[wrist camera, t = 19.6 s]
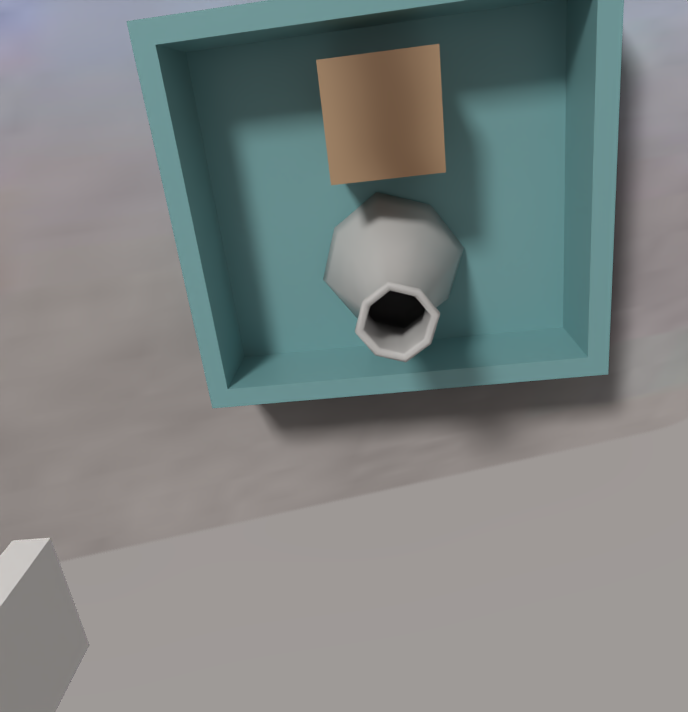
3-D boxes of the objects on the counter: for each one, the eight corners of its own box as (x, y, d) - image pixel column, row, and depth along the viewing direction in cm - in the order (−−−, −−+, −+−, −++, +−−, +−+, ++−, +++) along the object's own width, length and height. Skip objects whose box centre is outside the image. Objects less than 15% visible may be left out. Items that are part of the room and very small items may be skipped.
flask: (411, 348, 35) (422, 436, 26) (301, 283, 34) (271, 350, 25) (487, 240, 33) (530, 295, 24) (370, 166, 32) (367, 192, 22)
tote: (233, 370, 37) (212, 408, 32) (164, 33, 30) (126, 21, 26) (578, 338, 35) (608, 374, 31) (585, -28, 28) (626, -53, 24)
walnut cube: (337, 173, 32) (330, 185, 27) (325, 66, 30) (316, 60, 25) (436, 161, 31) (445, 172, 27) (429, 52, 30) (439, 43, 25)
